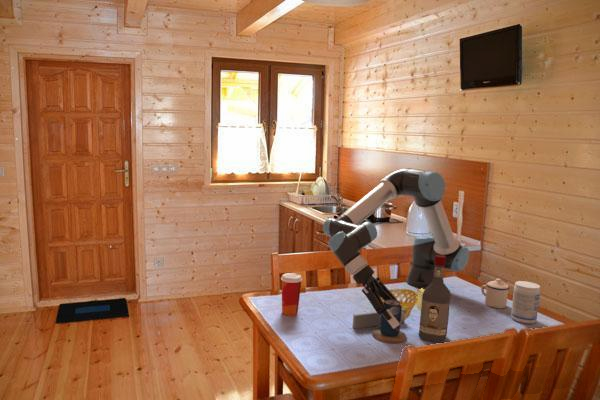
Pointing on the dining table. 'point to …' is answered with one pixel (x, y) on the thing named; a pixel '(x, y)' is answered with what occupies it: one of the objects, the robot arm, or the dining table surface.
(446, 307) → the liquor
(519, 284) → the supplement tub
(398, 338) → the walnut coaster
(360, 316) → the low wall
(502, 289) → the teacup with lid
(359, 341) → the dining table surface
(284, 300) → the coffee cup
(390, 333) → the soda can
